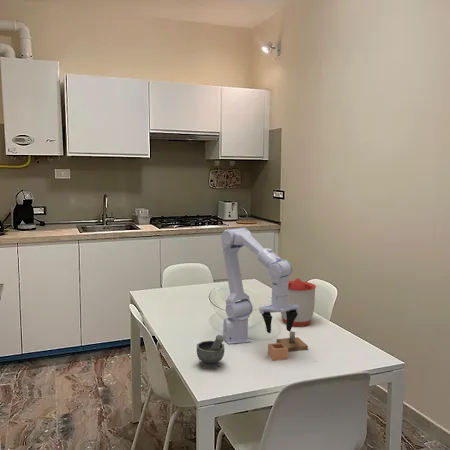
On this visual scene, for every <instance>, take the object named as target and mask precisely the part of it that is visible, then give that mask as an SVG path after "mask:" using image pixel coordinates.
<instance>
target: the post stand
mask: <svg viewBox="0 0 450 450" xmlns="http://www.w3.org/2000/svg"><path fill="white" fill-rule="evenodd" d="M276 343H283V344H284V345H285V346H286V347H287V348H288V353H289V352H299V351H308V350H309V345H308V344H307V343H305V342H304V341H303V340H302V339H301V338H300V337H298V336H297V337H296V331H292V330H291V331H290V332H289V337H287V338H286V337H284V338H276Z"/></svg>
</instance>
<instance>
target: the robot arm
mask: <svg viewBox="0 0 450 450" xmlns="http://www.w3.org/2000/svg"><path fill="white" fill-rule="evenodd" d="M220 239H221V245H222V253H223V259H224V264H225V272H226V277H227V284H228V289H229V295H228V297H227V298H226V299H225V315H226V316H227V318H224V319H223V332H222V334H223V335H222V336H223V338H224V341H225V342H226V344H227V345H230V344H231V345H232V344H244V343H251V342H252V340H251V339H250V337H249V334H248V333H249V318H250V315H251V314H252V313H253V303H252V302H251V299H250V296H249V295H248V294H247V293H246V292H245V291H244V285H243V279H242V273H241V267H240V262H239V255H238V253H239V251H240V249H242V248H243V247H244V246H245V247H246V248H247V249H249V250H250V251H251V252H253V254H255V255H257V260H258V261H259V263H260V264H262V265H263V266H264V267H265V268H266V269H267V270H268V273H269V275H270V281H271V284H272V285H271V304H270V305H264V306H259V309H258V310H259V311H258V312H259V314H261V317H262V319H263V321H264V324H265V328H266V333H268V334H271V333H272V320H273V316H272V313H281V312H286V316H287V324H286V326H285V327H286V331H288V332H289V333H290V332H291V331H292V327H293V326H292V325H293V322H294V320H295V318H296V317H297V315H298V313H297V312H296V311H299V306H298V305H290V304H288V281H290V280H289V279H290V278H289V277H290V276H291V275H292V273H293V265H292V263H291V262H290V261H289V260H288V259H282V258H281V256H279V255H277V254H276V253H275V252H273V249H272V248H269V247H265V248H264V247H263V246H262V245H261V243H259V242H258V241H257V240H256V238H254V237H253V235H252V232H251V231H250V230H248V228H247V227H239V228H227V229H225V230H224V231H222V233H221V236H220Z"/></svg>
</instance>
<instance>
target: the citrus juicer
mask: <svg viewBox="0 0 450 450" xmlns="http://www.w3.org/2000/svg"><path fill="white" fill-rule="evenodd" d="M316 288H317V286H316V285H315V284H314V283H312V282H308V281H303V280H301V279H300V278H298V277H297V278H295V280H289V281H288V304H290V305H298V306H299V311H296V312H297V313H298V315H297V317H296V318H295V320H294V322H293V325H292V327H307V326H308V325H310V324H311V321H312V318H313V315H314V312H315V305H316V304H315V303H316V302H315V301H316V298H315V297H316ZM280 316H281V319H282V321H283V323H284V324H286V325H287V316H286V312H280Z"/></svg>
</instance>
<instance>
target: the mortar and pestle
mask: <svg viewBox="0 0 450 450" xmlns="http://www.w3.org/2000/svg"><path fill="white" fill-rule="evenodd" d="M224 341H225V339H224V338H223V335H221V334H217V335H216V336H215V340H205V341H201V342H199V343H196V354H197V355H196V356H197V358H198V359H199V361H201V367H202V368H203V369H206V370H207V369H208V370H212V369H213V370H214V369H217V368H218V367H220V361H221V360H222V359H223V358H224V355H225V344H224V343H223V342H224Z"/></svg>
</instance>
